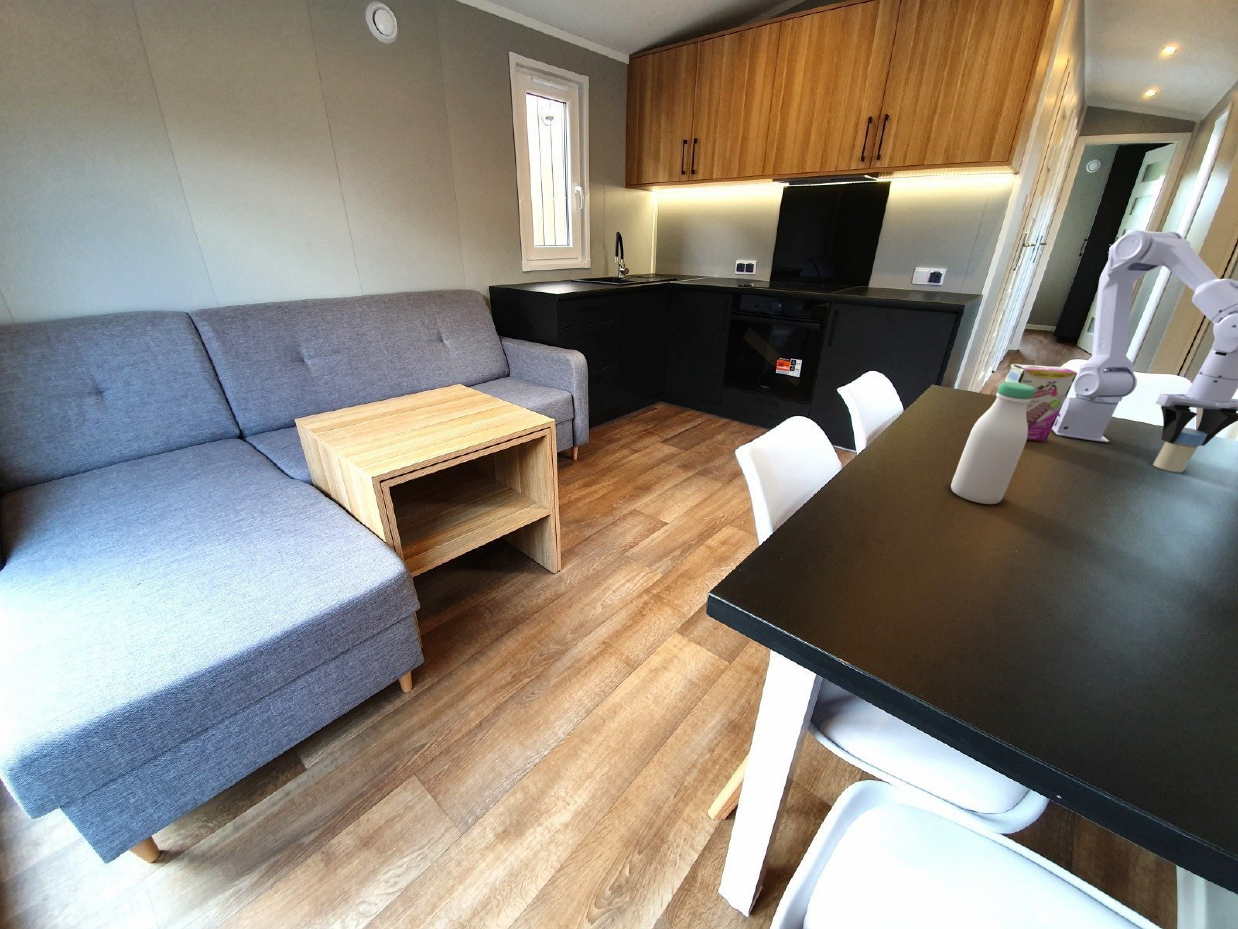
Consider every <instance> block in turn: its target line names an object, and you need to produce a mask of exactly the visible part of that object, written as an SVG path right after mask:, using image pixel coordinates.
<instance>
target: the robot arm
mask: <svg viewBox="0 0 1238 929" xmlns="http://www.w3.org/2000/svg"><path fill="white" fill-rule="evenodd" d="M1159 267H1165V268H1166V269H1167V270H1168V271H1169V272H1171V273H1172V274H1173V275H1174V276H1175V277H1177V278H1178V279H1179V280H1180V281H1181V282H1183V283H1184V284H1185V285H1186V286H1187V287H1189V289H1190V290H1191V291H1192V292H1194V293H1193V294H1192V298H1191V302H1192V304H1193V305H1195V307H1196V308H1197V309H1198V310H1199V311H1200V312H1201V313H1202V314H1203V315H1204V316H1205V317H1206V318H1207V319H1208V320H1209V321H1210V323H1212V324H1213V328H1212V333H1213V337H1214V340H1213V343H1212V345H1211V348H1210V350H1209V352H1208V354H1207V356H1206V358H1205V359H1204V362H1203V364H1202V365H1201V367H1200V369H1199V370H1198V372H1197V374H1196V376H1195V378H1194V379H1193V381H1192V383H1191V385H1190V387H1189V388H1188V389H1187V391H1186V393H1172V394H1171V393H1170V394H1169V393H1160V394H1159V396H1158V398H1157V399H1156V401H1155V404H1156V405H1160V410H1161V414H1162V420H1163V421H1162V422H1163V424H1162V432H1161V438H1160V440H1161V441H1164V442H1165V441H1166V442H1168V443H1174V442H1175V440H1176V439H1177V438H1178V436H1179V435H1180V433H1181V431H1182V430H1183V428H1184V427H1185V428H1186V426H1187V425H1188V424H1189V423H1190V422H1191V421H1192V419H1194V418H1195V417H1196V416H1198V413H1197V412H1195V411H1192V409H1191V408H1193V409H1202V414H1201V418H1200V421H1199V425H1198V427H1197V429H1196V430H1199V431H1202V432H1204V433H1206V434H1207V436H1206V439H1205V441H1204V442H1203V444H1202V445H1201V446H1200V447H1205V446H1206V444H1208V443H1209V442H1210V441H1211V440H1212V439H1214V438H1215V436H1217V435H1218V434H1219V433H1220V432H1222V431H1223V430H1225V429H1226V428H1227V427H1229V426H1231V425H1232V424H1234V423H1236V422H1238V398H1233V397H1234V395H1235V394H1236V392H1237V390H1238V280H1235V279H1233V278H1221V279H1220V278H1219V277H1218V276H1217V275H1216V274H1215V273H1214V272H1213V271H1212V270H1211V268H1210V267H1209V266H1208V265H1207V264H1206V263H1205V261H1204V260H1203V259H1202V258H1201V257H1200V255H1198V253H1197V252H1196V251H1194V249H1193V248H1192V247H1191V242H1190V241H1189V240H1187V239H1185V238H1183V236H1182V235H1181V234H1180V233H1179V232H1176V231H1163V232H1162V231H1145V230H1140V229H1137V230H1131V231H1128V232H1127V233H1125V234H1123V235H1122V236H1120V238H1119V239H1118V240H1117V241H1115V242H1114V243H1113V244H1112V245H1110V247H1109V250H1108V260H1107V262H1106V264H1105V266H1104V268H1103V270H1102V272H1101V274H1100V275H1099V280H1098V289H1097V298H1096V310H1095V318H1094V328H1093V329H1094V330H1093V339H1092V350H1091V357H1090V358H1089V359H1088V360H1086V361H1084V362H1083V363H1082V364H1080V366H1079V372H1078V373H1077V375H1076V377H1075V380H1074V382H1073V390H1074V392H1075V394H1074V395H1067V397H1066V399H1065V401H1064V403H1063V405H1062V407H1061V410H1060V412H1059V414H1058V416H1057V418H1056V420H1055V423H1054V425H1053V427H1052V429H1051V431H1053V432H1054V433H1055V434H1056V435H1057V436H1060V437H1066V438H1072V439H1080V440H1087V441H1094V442H1100V443H1106V444H1107V443H1109V442H1110V440H1109V439H1108V438H1107V437H1105V436H1104V433H1105V431H1106V430H1107V427H1108V425H1109V423H1110V421H1111V419H1112V417H1113V416H1114V413H1115V411H1116V409H1117V406H1118V405H1119V403H1120V402H1122V400H1123V398H1124V397H1127V396H1129V395H1130V394H1132V393H1133V392H1134V391H1135V389H1136V387H1137V385H1138V379H1137V376H1136V375H1135V373H1134V366H1135V365H1134V363H1133V362H1132V361H1131V359H1130V358H1129V357H1128V356H1127V347H1128V338H1129V329H1130V319H1131V311H1132V301H1133V300H1132V299H1133V294H1134V293H1133V292H1134V291H1133V290H1134V284H1135V282H1136V281H1138V280H1139V279H1140V278H1142V277H1143V276H1144V275H1146V274H1148V273H1150V272H1152V271H1154V270H1156V269H1158V268H1159Z"/></svg>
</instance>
